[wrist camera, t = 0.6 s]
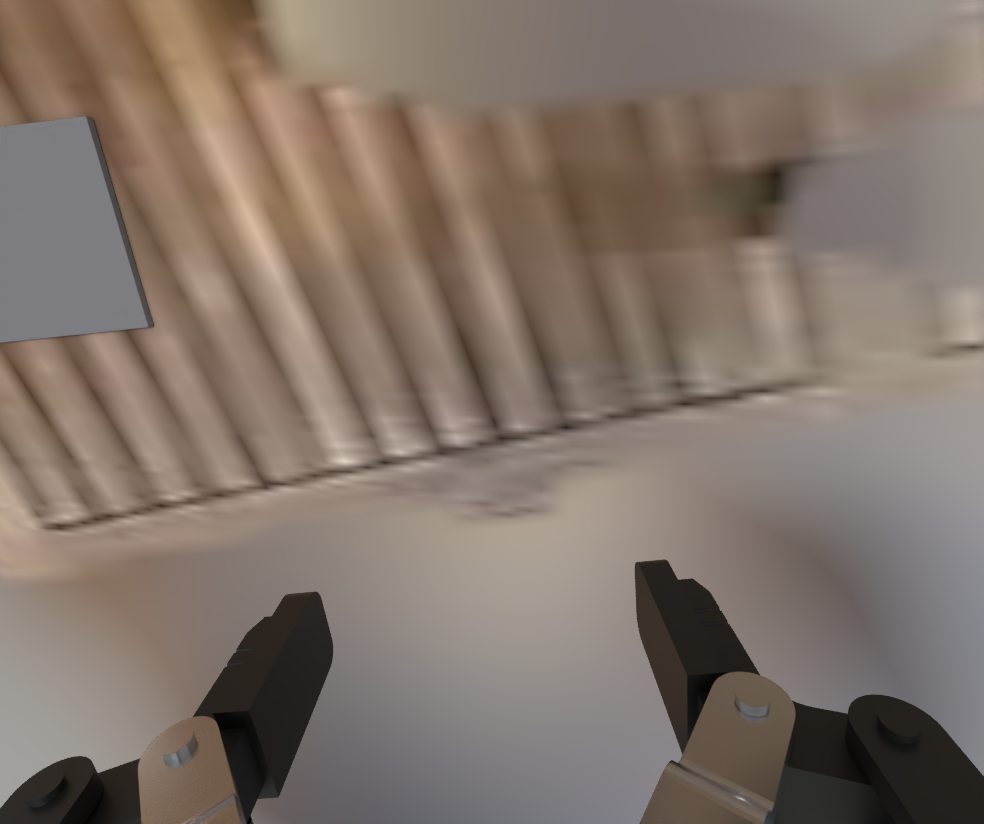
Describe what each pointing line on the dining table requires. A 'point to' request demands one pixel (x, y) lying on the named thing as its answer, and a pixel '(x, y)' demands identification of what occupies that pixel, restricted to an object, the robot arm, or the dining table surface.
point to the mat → (62, 236)
